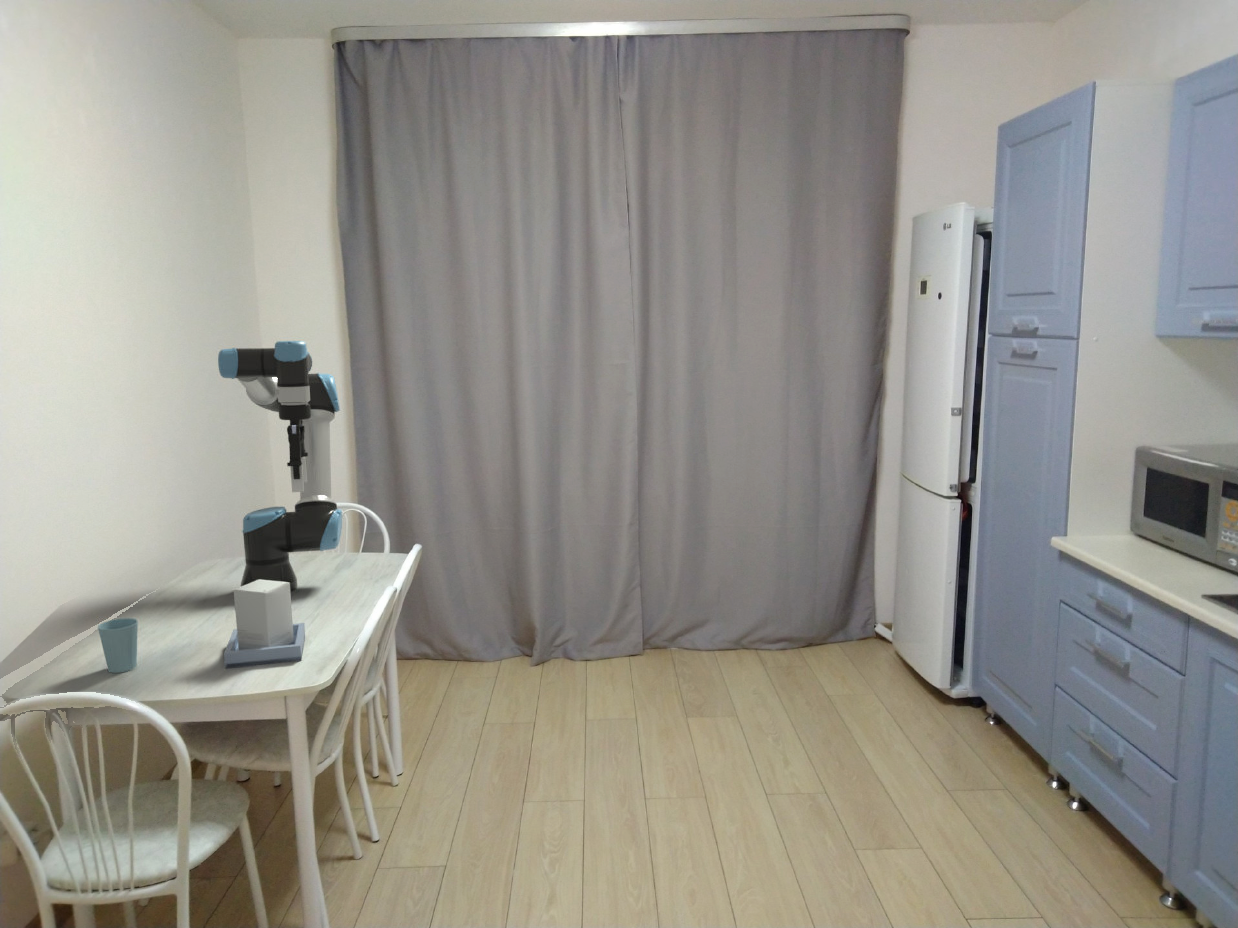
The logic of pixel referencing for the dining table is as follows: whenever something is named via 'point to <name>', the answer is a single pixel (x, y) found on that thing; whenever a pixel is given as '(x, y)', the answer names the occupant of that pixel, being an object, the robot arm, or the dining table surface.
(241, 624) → the supplement box
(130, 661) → the cup
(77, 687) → the dining table surface
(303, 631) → the bin
